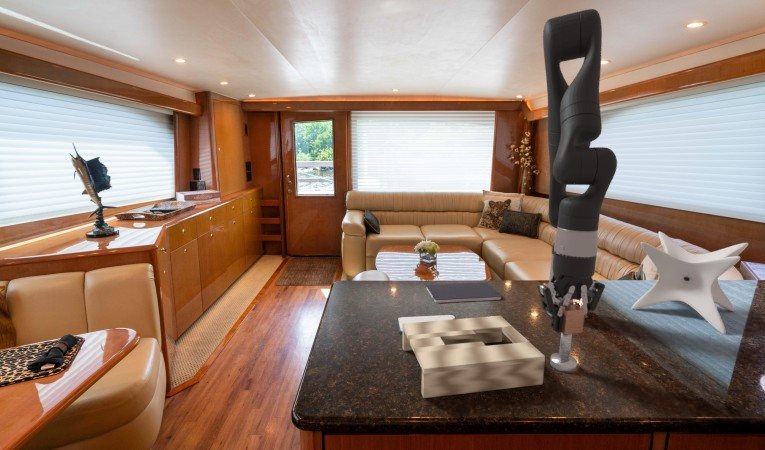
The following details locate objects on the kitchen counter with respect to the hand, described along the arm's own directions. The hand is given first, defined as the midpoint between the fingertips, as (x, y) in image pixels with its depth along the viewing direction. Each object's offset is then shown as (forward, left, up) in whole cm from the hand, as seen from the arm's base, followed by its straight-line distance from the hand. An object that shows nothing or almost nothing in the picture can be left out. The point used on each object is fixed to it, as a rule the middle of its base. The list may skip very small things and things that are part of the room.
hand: (566, 329), depth 76 cm
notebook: (+6, -42, -9) cm, 43 cm away
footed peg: (0, 0, -8) cm, 8 cm away
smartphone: (+23, -22, -9) cm, 33 cm away
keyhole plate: (+20, -4, -8) cm, 22 cm away
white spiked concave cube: (-51, -19, -9) cm, 55 cm away
